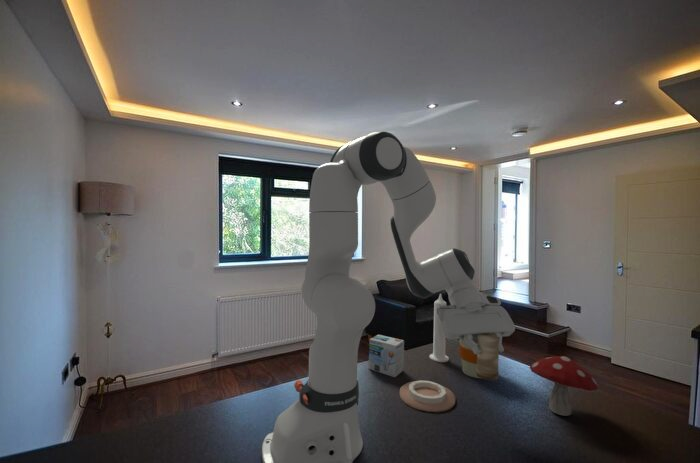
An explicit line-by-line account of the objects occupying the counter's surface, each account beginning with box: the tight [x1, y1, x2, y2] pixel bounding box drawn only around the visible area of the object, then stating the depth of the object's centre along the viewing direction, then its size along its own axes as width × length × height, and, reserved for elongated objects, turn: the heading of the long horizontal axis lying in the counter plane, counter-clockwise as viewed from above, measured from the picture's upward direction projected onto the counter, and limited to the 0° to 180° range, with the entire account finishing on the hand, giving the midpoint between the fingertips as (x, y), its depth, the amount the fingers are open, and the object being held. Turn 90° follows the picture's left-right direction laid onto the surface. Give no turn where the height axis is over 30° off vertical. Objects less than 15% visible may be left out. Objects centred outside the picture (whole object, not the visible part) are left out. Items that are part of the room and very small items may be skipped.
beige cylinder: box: [476, 334, 500, 382], centre depth 82 cm, size 5×5×10 cm
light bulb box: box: [368, 334, 405, 378], centre depth 112 cm, size 11×7×11 cm, turn 55°
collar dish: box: [399, 379, 456, 413], centre depth 95 cm, size 16×16×2 cm
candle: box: [429, 293, 450, 363], centre depth 123 cm, size 7×7×25 cm
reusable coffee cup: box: [458, 338, 481, 379], centre depth 112 cm, size 13×12×15 cm
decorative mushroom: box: [529, 355, 599, 417], centre depth 88 cm, size 16×16×15 cm
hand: (489, 352), depth 81 cm, fingers closed on beige cylinder, 5 cm apart
